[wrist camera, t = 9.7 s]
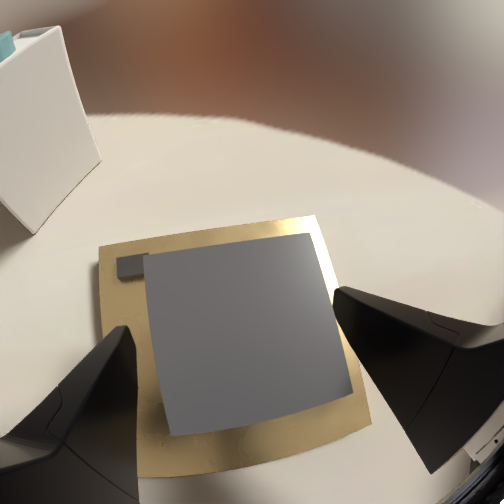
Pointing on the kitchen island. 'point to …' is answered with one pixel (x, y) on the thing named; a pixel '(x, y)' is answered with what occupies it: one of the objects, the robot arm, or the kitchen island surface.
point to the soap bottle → (40, 126)
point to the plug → (243, 333)
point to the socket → (149, 394)
